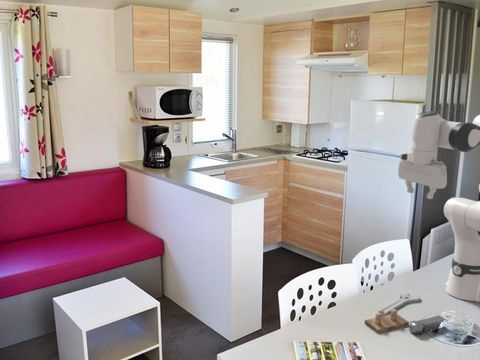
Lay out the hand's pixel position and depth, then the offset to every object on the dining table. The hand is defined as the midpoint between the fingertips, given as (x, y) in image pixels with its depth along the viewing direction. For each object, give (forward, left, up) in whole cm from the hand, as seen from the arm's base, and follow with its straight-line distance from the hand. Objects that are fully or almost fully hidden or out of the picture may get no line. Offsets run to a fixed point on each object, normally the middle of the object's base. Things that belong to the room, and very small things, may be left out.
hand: (419, 195), depth 169 cm
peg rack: (+16, +6, -45) cm, 48 cm away
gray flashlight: (+5, +14, -45) cm, 47 cm away
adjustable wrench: (+2, -4, -45) cm, 46 cm away
